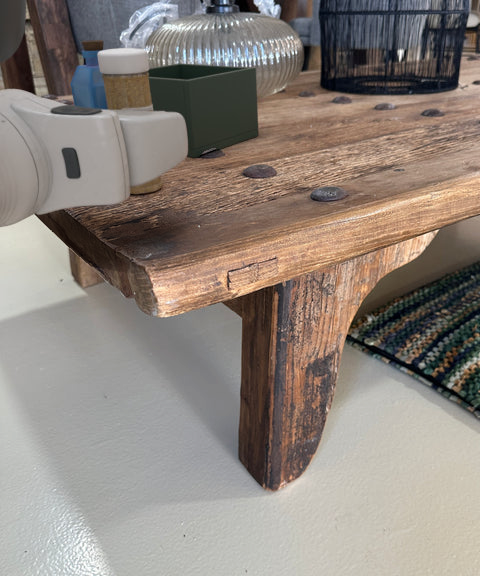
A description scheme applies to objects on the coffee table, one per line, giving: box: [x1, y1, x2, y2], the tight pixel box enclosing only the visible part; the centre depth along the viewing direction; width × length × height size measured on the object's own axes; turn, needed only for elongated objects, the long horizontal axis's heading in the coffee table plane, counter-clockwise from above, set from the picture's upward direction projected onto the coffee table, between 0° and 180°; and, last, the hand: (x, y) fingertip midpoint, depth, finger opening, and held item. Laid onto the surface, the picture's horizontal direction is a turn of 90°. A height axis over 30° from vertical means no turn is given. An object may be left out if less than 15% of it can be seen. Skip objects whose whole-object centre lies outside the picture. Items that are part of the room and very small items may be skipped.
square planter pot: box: [148, 62, 260, 159], centre depth 76 cm, size 14×14×9 cm
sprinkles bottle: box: [97, 47, 164, 195], centre depth 56 cm, size 5×5×14 cm
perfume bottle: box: [69, 39, 108, 109], centre depth 86 cm, size 6×6×12 cm
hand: (115, 117), depth 54 cm, fingers open, 8 cm apart
